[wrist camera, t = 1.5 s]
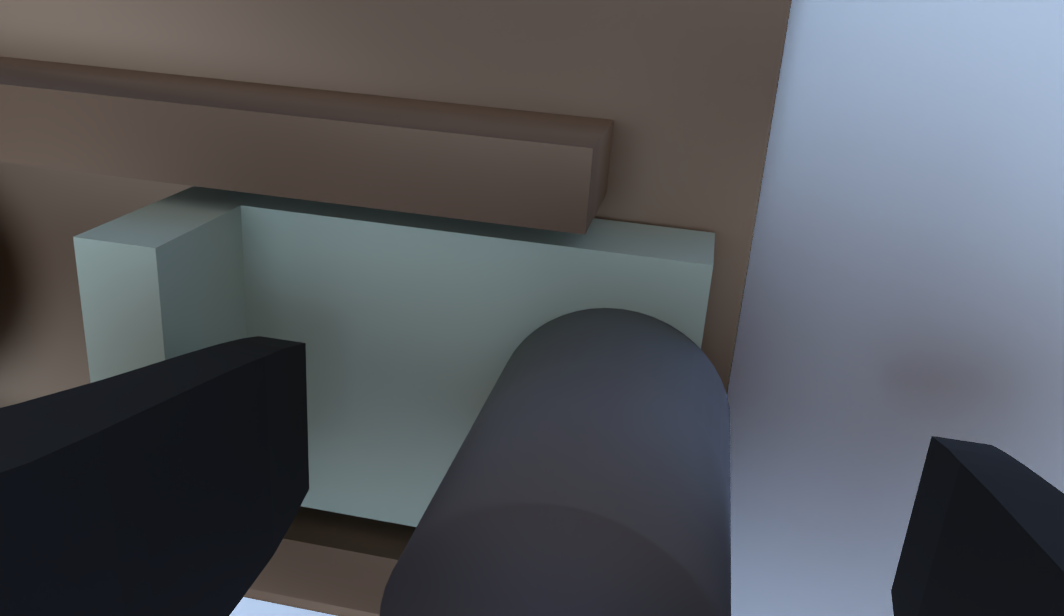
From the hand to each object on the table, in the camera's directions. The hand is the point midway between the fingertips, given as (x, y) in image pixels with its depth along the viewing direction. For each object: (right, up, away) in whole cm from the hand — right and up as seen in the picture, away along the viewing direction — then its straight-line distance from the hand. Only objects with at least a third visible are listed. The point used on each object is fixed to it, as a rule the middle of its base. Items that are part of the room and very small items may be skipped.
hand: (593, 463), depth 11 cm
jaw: (-2, +1, +3) cm, 3 cm away
